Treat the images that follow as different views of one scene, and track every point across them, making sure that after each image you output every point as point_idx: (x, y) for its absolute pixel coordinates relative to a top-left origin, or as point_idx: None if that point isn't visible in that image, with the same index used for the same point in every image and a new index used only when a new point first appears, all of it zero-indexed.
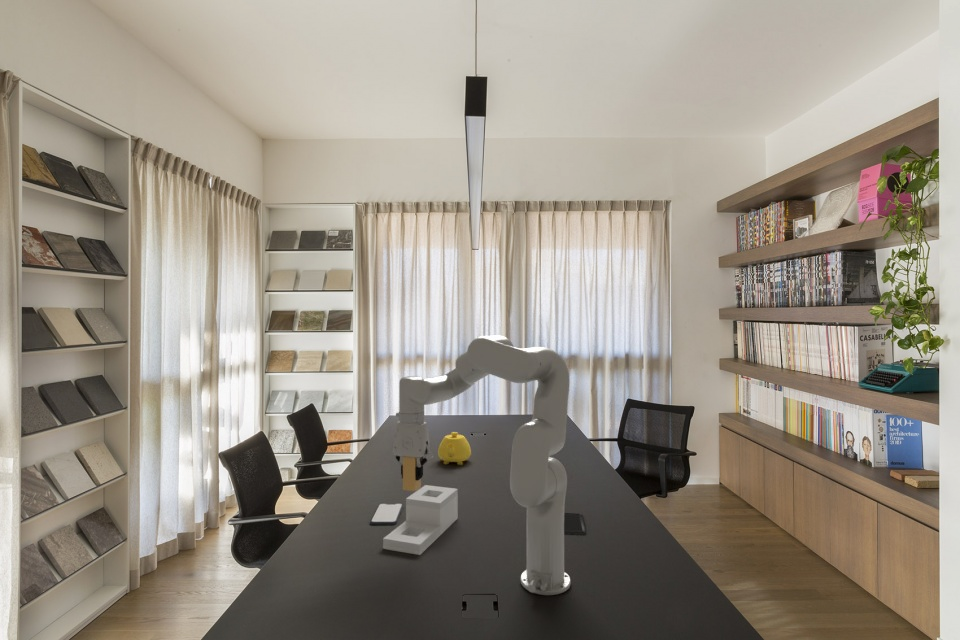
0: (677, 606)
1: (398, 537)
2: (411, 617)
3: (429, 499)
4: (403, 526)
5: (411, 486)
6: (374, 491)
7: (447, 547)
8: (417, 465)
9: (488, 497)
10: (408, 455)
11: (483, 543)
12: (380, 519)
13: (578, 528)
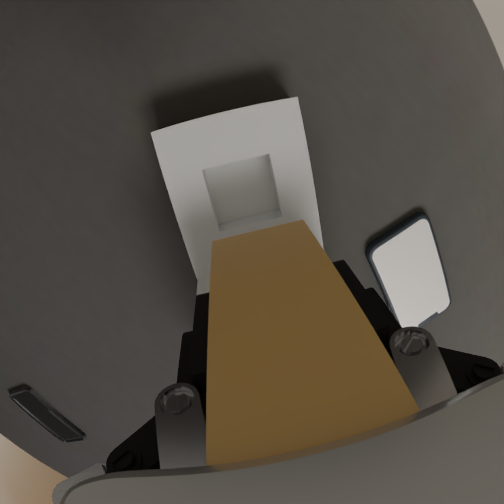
0: None
1: (255, 131)
2: None
3: None
4: (301, 210)
5: (239, 248)
6: (479, 343)
7: (127, 217)
8: (195, 396)
9: None
10: (301, 470)
11: (77, 288)
12: (411, 240)
13: (24, 403)
